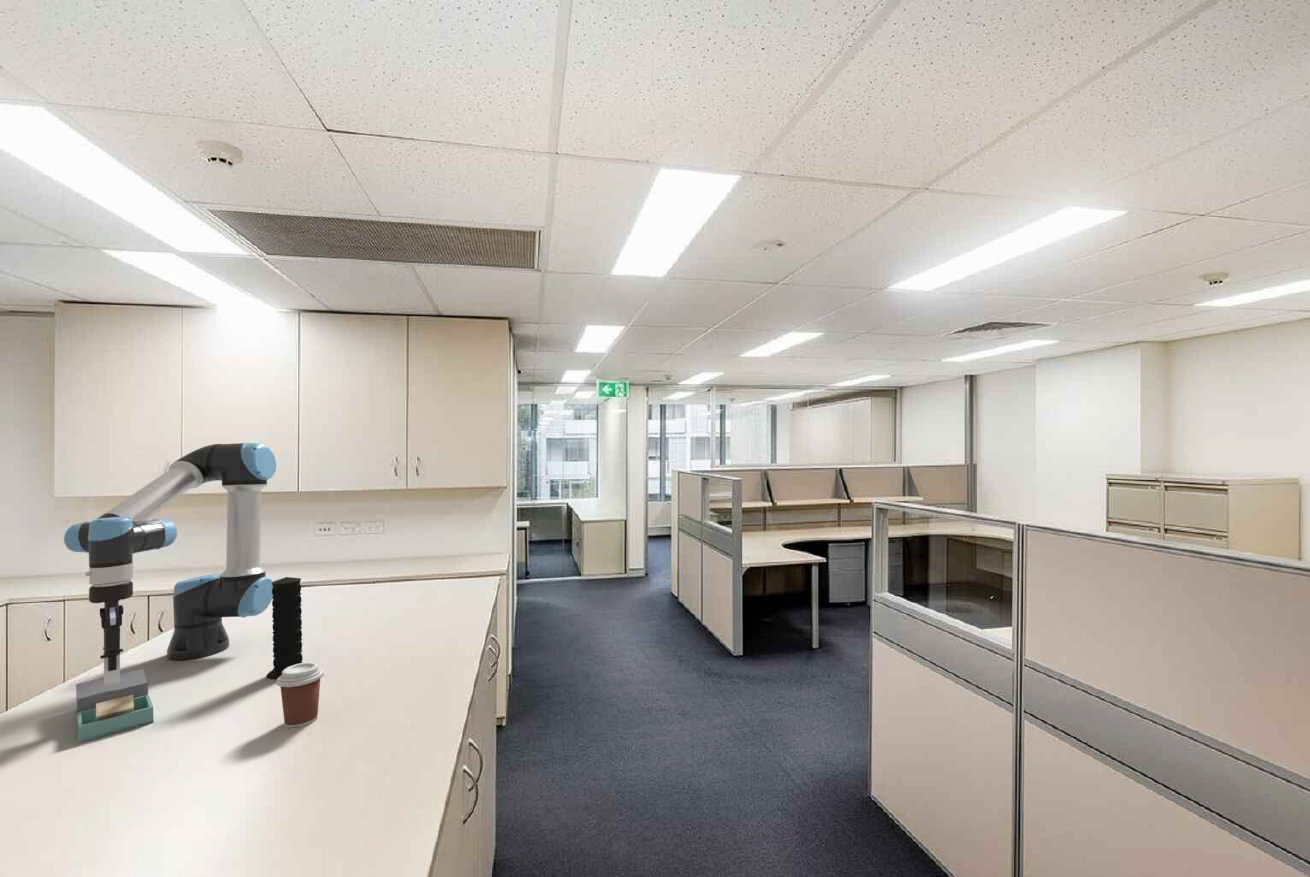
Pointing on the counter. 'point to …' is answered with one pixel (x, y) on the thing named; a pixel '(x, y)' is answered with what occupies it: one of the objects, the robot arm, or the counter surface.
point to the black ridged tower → (286, 625)
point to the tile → (114, 707)
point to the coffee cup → (300, 693)
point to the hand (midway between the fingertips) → (112, 682)
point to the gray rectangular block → (110, 690)
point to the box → (114, 720)
